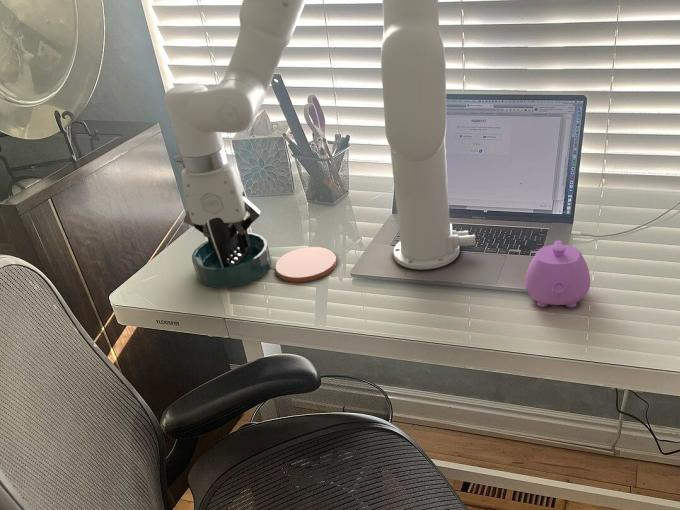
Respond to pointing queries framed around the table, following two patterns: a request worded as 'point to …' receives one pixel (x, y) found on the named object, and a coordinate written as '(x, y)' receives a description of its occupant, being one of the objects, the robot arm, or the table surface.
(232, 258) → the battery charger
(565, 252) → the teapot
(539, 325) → the table surface
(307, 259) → the plate
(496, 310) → the table surface
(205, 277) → the bowl
